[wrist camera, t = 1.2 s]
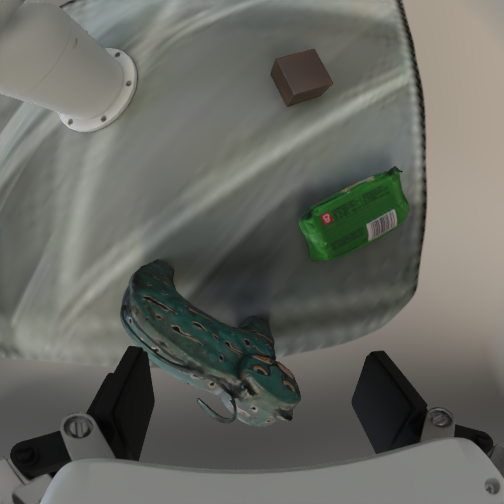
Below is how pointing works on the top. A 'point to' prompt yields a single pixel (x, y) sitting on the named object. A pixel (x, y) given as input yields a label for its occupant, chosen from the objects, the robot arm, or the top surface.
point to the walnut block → (300, 77)
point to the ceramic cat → (208, 350)
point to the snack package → (354, 216)
